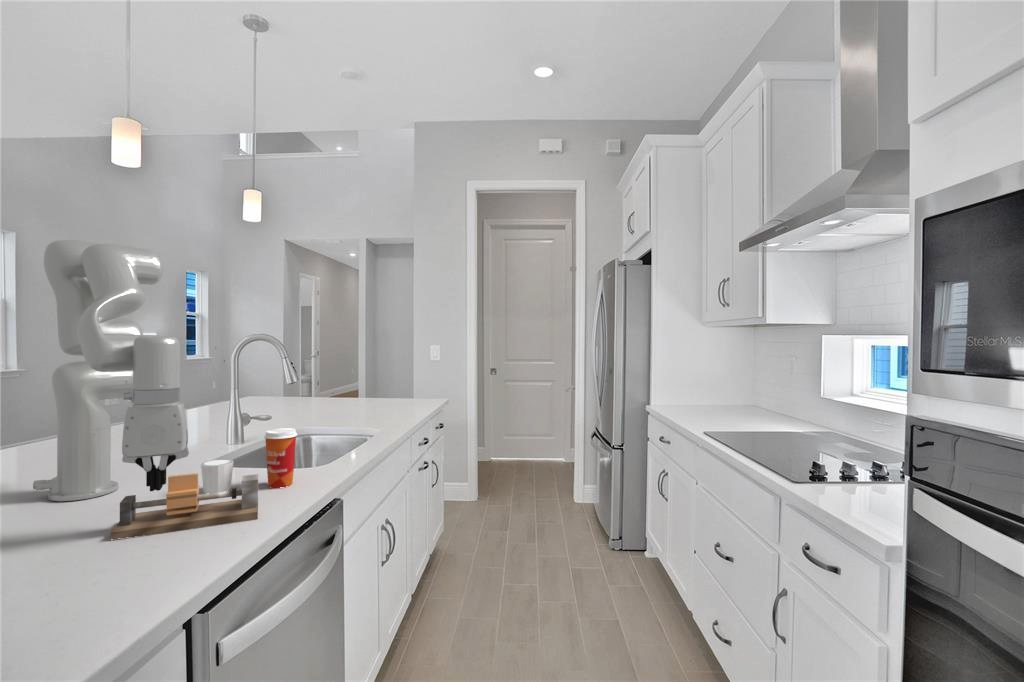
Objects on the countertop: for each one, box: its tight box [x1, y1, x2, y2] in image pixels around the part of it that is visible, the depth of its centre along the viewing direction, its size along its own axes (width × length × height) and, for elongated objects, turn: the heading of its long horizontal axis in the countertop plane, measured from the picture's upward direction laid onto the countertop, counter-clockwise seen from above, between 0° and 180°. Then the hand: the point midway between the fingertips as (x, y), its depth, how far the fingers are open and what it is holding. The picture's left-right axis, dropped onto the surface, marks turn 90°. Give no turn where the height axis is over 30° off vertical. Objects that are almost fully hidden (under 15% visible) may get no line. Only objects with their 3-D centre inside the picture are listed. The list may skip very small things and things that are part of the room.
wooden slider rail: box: [110, 473, 259, 540], centre depth 98 cm, size 24×10×8 cm, turn 118°
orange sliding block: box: [166, 472, 200, 515], centre depth 97 cm, size 5×4×7 cm
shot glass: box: [200, 458, 234, 494], centre depth 117 cm, size 7×7×7 cm
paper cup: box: [263, 427, 298, 489], centre depth 122 cm, size 8×8×14 cm
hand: (156, 488), depth 95 cm, fingers closed
